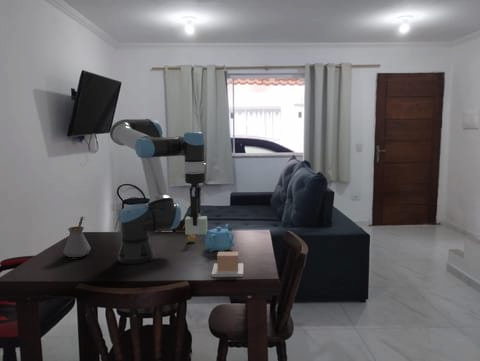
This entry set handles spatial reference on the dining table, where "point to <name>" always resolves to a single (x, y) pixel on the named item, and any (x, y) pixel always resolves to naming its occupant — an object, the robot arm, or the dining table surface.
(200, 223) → the sage brick
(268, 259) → the dining table surface
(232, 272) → the base plate
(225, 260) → the terracotta brick
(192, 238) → the figurine
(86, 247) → the coffee pot
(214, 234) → the teapot
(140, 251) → the robot arm
